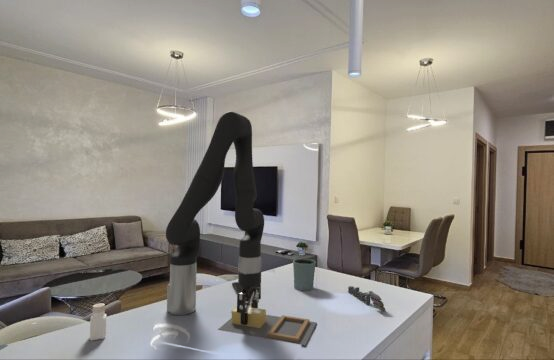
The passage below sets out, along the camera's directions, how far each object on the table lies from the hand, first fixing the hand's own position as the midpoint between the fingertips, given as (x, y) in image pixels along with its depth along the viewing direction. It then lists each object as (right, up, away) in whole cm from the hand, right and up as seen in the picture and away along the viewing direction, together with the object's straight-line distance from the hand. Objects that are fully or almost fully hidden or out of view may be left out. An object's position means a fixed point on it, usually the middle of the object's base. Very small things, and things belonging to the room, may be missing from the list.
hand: (249, 319), depth 105 cm
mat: (+6, -2, -2) cm, 7 cm away
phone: (-6, -3, +36) cm, 36 cm away
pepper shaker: (-44, -1, -10) cm, 45 cm away
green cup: (+21, -3, +38) cm, 44 cm away
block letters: (+44, -3, +21) cm, 49 cm away
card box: (0, -1, 0) cm, 1 cm away
